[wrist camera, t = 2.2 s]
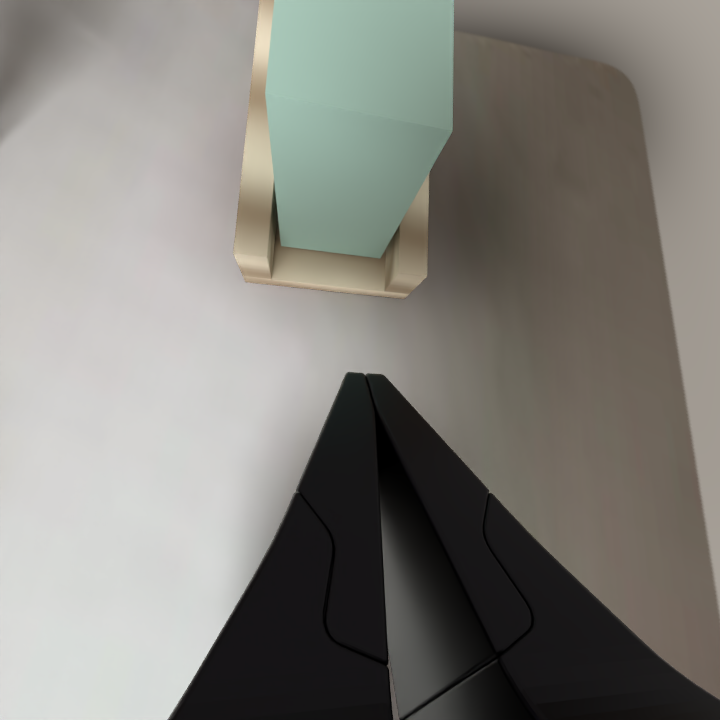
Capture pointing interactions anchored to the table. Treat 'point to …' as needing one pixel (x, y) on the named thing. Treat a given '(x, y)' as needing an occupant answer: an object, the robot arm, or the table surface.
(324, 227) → the sage block
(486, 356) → the table surface
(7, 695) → the table surface
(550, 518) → the table surface
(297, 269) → the chute
